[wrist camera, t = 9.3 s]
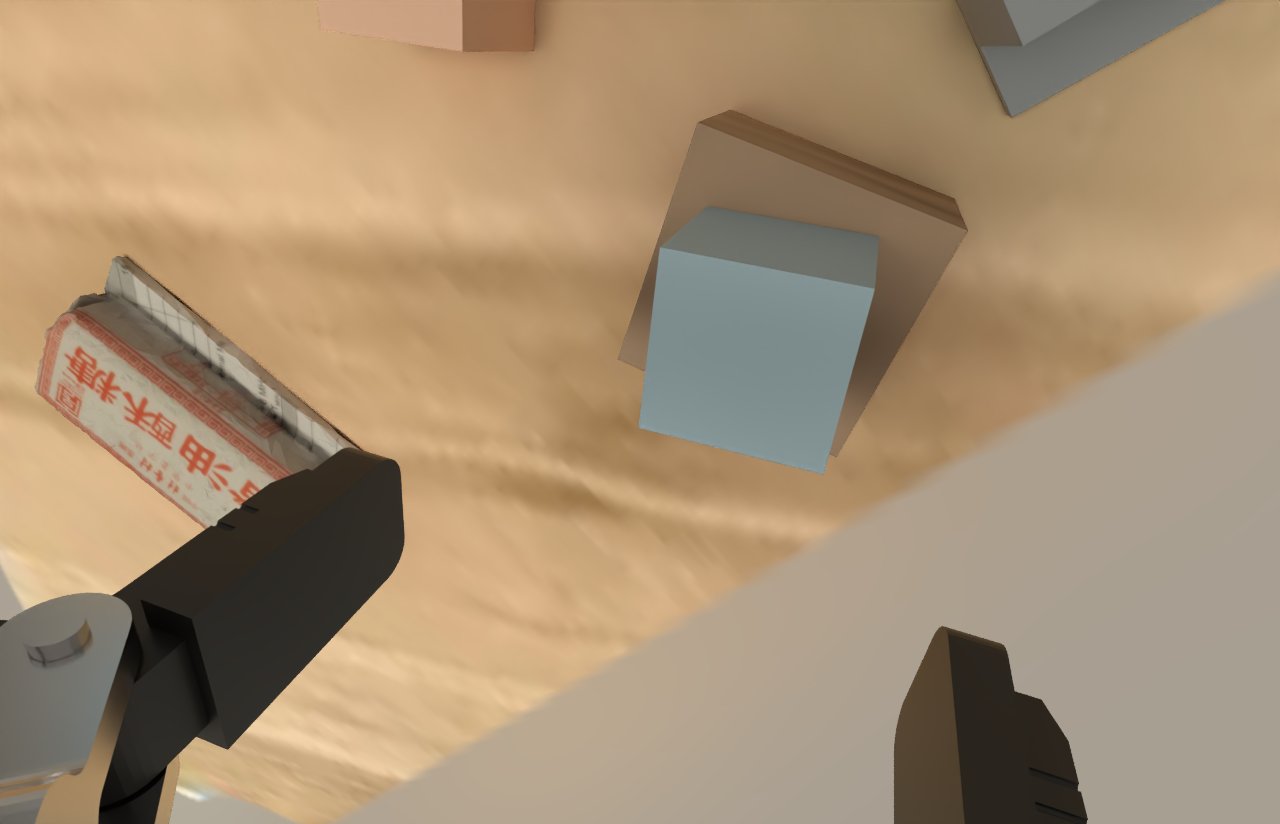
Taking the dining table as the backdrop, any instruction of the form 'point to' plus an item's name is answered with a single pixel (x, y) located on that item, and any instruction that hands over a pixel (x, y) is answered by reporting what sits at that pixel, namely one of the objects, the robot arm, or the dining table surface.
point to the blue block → (756, 334)
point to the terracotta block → (436, 22)
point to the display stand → (1063, 39)
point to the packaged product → (176, 398)
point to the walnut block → (824, 196)
